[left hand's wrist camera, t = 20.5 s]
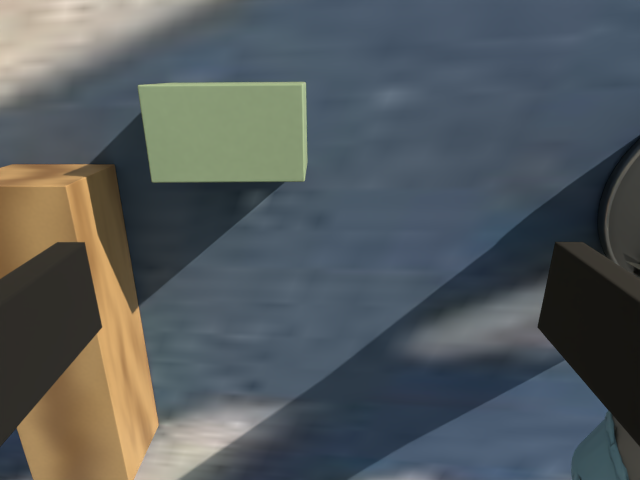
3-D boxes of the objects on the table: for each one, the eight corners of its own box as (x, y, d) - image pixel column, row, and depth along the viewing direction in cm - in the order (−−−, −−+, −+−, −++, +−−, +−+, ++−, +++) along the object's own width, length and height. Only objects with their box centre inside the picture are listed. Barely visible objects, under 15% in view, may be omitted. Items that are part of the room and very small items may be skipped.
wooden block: (114, 164, 34) (65, 186, 27) (158, 425, 43) (130, 487, 37) (12, 164, 34) (-62, 186, 27) (78, 424, 43) (35, 487, 37)
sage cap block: (305, 81, 32) (302, 84, 26) (307, 163, 34) (304, 181, 28) (169, 82, 32) (136, 85, 26) (179, 164, 34) (151, 182, 28)
